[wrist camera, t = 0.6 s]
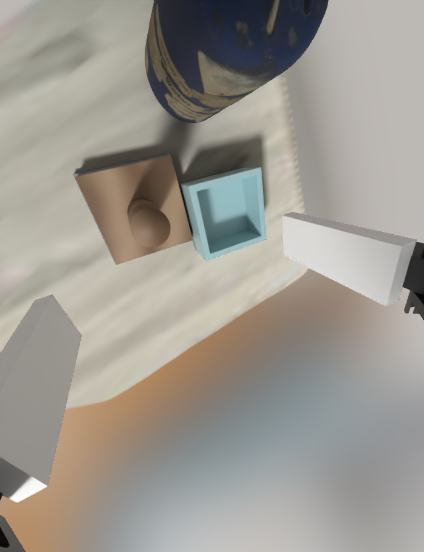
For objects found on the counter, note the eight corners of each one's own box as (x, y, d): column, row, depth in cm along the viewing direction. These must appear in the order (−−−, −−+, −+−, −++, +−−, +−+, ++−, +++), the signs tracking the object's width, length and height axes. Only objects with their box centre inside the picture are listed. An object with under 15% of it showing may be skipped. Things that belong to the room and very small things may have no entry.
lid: (116, 260, 30) (115, 297, 21) (77, 176, 25) (53, 178, 16) (189, 237, 33) (216, 261, 24) (168, 156, 27) (192, 148, 18)
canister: (139, 109, 25) (171, 11, 10) (146, -4, 21) (213, -426, 6) (214, 135, 29) (320, 93, 14) (230, 43, 25) (395, -149, 10)
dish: (195, 250, 34) (206, 260, 30) (178, 184, 30) (188, 186, 25) (249, 231, 37) (266, 239, 33) (242, 167, 32) (261, 167, 28)
